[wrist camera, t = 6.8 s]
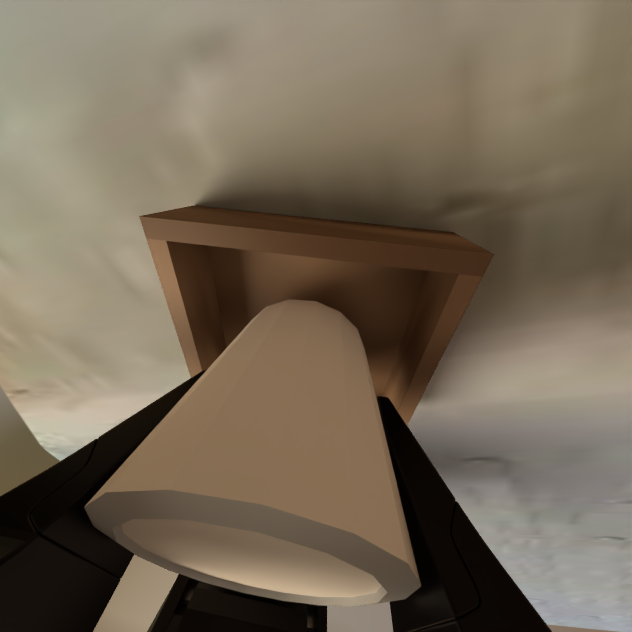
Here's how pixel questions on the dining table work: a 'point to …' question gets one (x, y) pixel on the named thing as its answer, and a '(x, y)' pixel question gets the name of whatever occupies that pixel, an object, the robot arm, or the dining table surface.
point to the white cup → (271, 472)
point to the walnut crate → (317, 284)
